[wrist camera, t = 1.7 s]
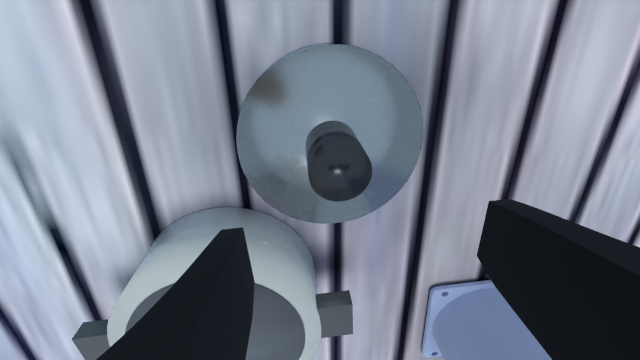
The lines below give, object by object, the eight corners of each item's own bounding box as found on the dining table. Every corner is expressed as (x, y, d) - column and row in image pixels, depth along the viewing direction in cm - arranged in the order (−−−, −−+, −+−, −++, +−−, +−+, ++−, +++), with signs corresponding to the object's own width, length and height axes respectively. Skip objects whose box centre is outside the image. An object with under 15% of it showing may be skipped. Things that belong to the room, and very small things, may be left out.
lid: (426, 40, 15) (474, 44, 11) (407, 208, 20) (436, 255, 16) (224, 47, 15) (199, 54, 11) (251, 219, 19) (241, 270, 15)
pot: (337, 195, 19) (353, 247, 14) (341, 318, 24) (355, 386, 19) (88, 220, 18) (22, 284, 13) (148, 343, 23) (114, 420, 18)
